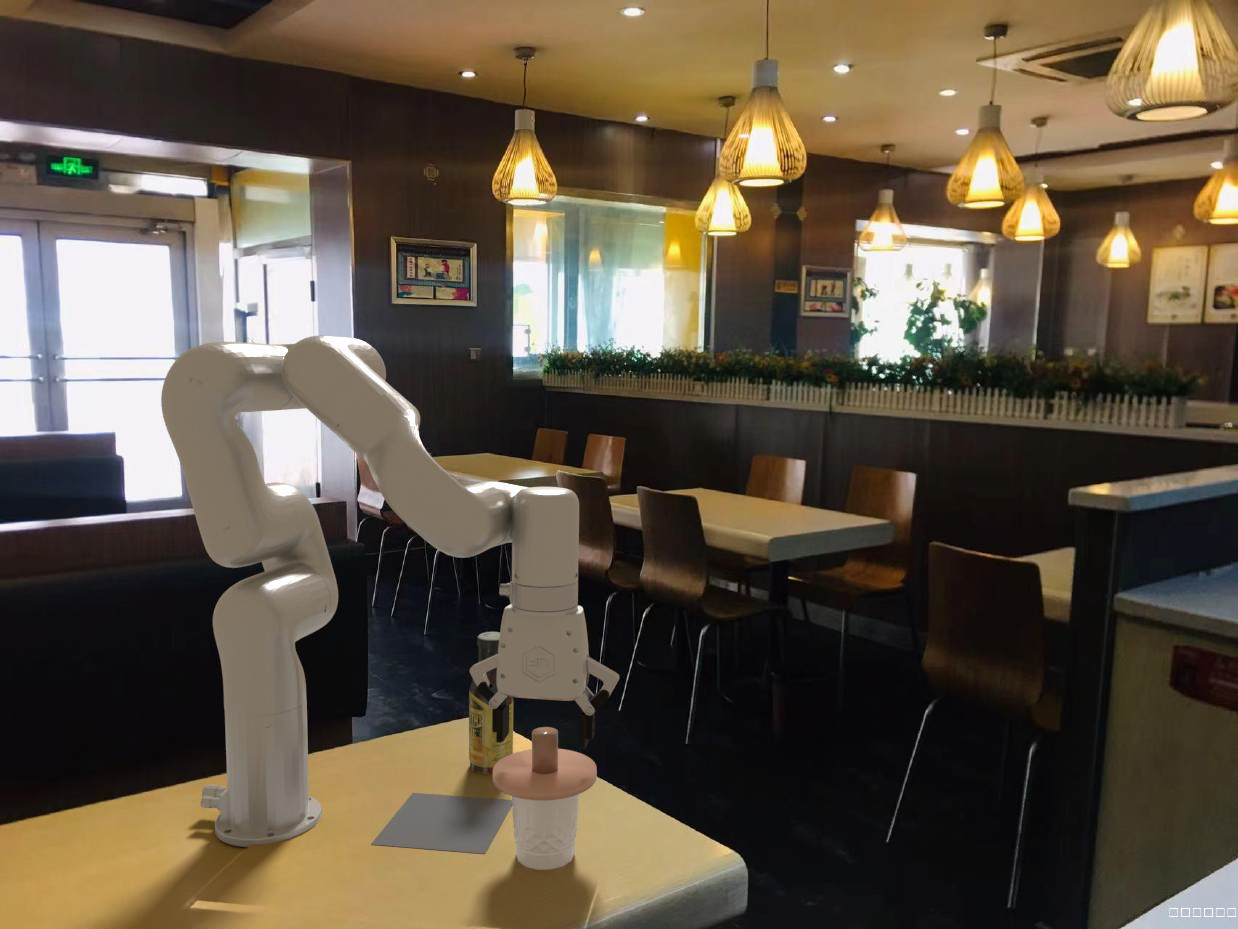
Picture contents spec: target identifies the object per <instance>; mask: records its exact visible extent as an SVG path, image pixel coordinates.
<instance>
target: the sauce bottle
mask: <svg viewBox="0 0 1238 929" xmlns="http://www.w3.org/2000/svg"><path fill="white" fill-rule="evenodd" d="M499 637H500V632H498V631H485V632H482V633H480V634H479V635H478V636H477V640H476V645H477V647H478V653H477V654H478V656H477V658H478V662H477V663H479V662H481V661H483V660H485V659H487V658H489V657H492V656H494V655H496V654H498V647H499ZM486 675H487V678H488V680H490V681H491V682H492V684H493V685H494V686H495V687H496V688H497V683H496V675H497V667H496V668H494V669H492V670H490V671H488V672H486ZM468 693H469V694H468V759H469V763H470V764H469V767H470V770H471V771H473V772H474V773H477V774H479V775H489V776H490V775H493V768H494V766H495V764H496V763H497V762H498V761H499V760H501V759H502V758H504V757H506V756H508V755H510V754H513V753H514V752H513V751H514V697H509V696H507V697H506V700H508V703H509V734H508V735H507V737H506V738H505V740H504V741H503V742H501V743H497V742H496V732H493V731H492V708H491V707H490V706H489V702H488V701H487V700H486V699H485V698H484V697H483V696H482V695H481V694H480V693H479V691H478V689H477V685H476V684H475V682H474V680H473V679H472V680H471V683H470V687H469V691H468Z"/></svg>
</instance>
